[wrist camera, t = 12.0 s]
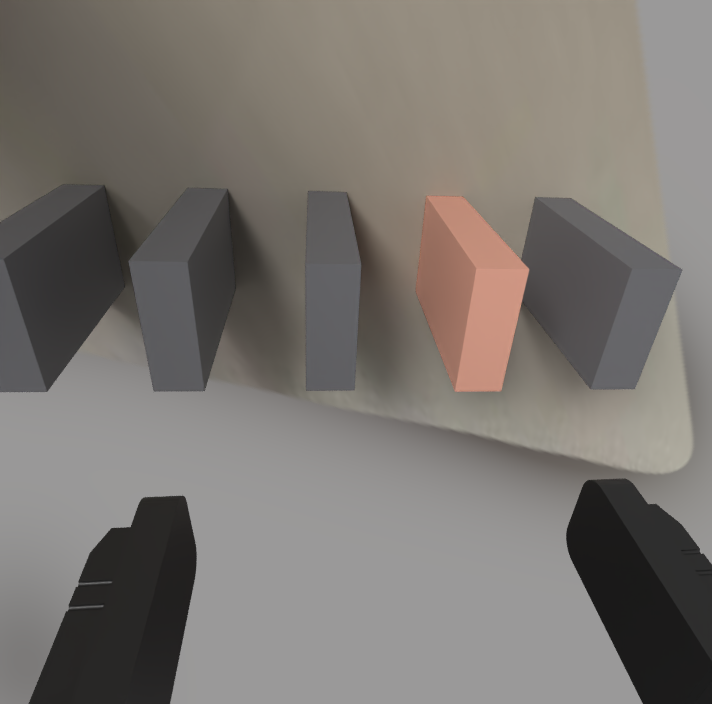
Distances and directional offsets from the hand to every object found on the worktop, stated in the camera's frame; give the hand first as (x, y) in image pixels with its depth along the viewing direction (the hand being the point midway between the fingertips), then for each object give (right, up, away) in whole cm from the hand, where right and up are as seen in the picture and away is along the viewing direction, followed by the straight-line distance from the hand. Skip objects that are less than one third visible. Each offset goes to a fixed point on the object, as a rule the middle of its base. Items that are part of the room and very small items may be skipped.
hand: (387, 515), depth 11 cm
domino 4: (+3, +9, +16) cm, 18 cm away
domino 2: (-8, +9, +15) cm, 19 cm away
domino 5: (+9, +9, +16) cm, 20 cm away
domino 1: (-13, +9, +14) cm, 21 cm away
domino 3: (-2, +9, +15) cm, 18 cm away
